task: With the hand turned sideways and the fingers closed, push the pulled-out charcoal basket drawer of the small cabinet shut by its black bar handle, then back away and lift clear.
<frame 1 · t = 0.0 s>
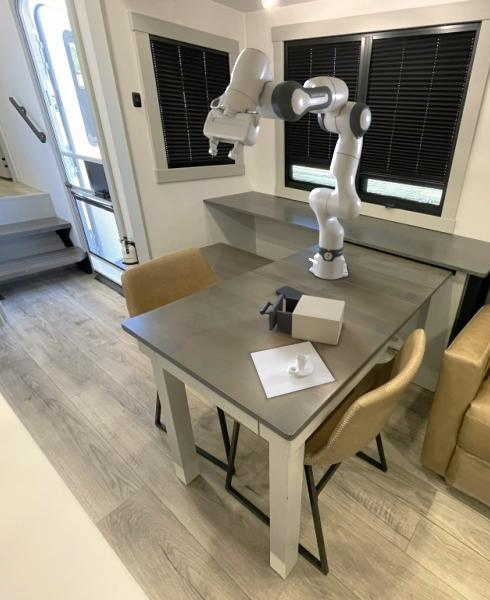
hand: (221, 156, 95), 54 cm above the table, tool tilted 30°, fingers open, 8 cm apart
phone: (293, 295, 138), on the table
cabinet: (318, 330, 117), on the table
teacup and saucer: (291, 366, 99), on the table
drawer: (288, 314, 116), point 5 cm above the table, slide at 7.0 cm
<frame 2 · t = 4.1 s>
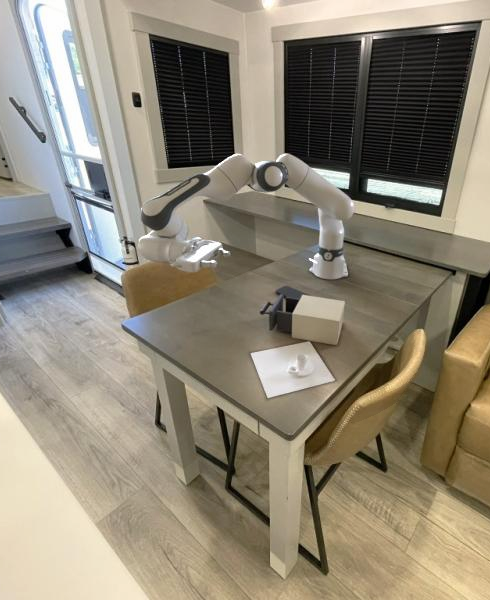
hand: (223, 259, 111), 22 cm above the table, tool horizontal, fingers open, 8 cm apart
nothing on the table moved.
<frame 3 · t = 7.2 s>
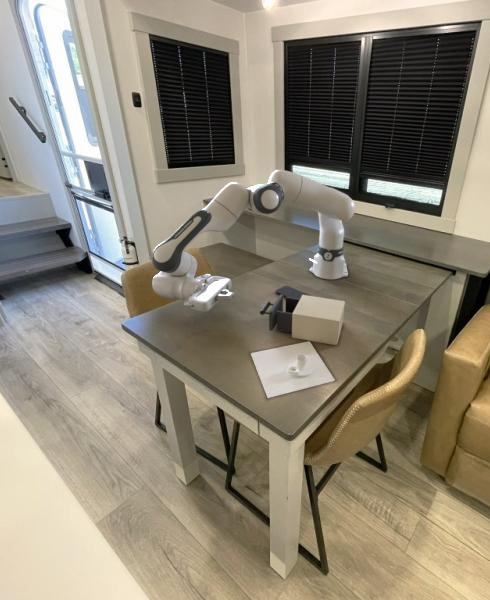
hand: (232, 296, 117), 8 cm above the table, tool horizontal, fingers closed
nothing on the table moved.
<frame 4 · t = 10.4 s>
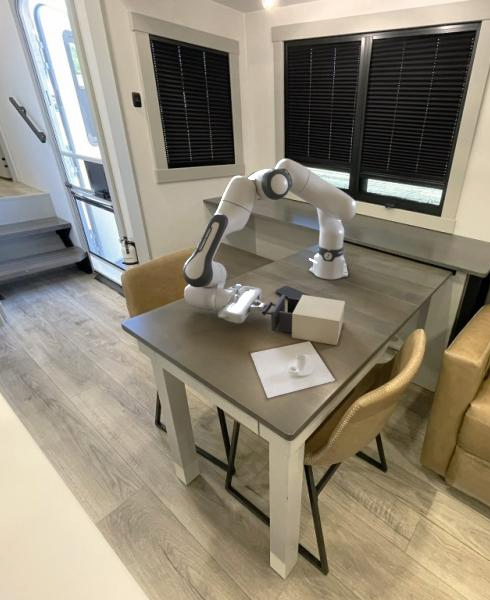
hand: (265, 307, 117), 6 cm above the table, tool horizontal, fingers closed, pressing on drawer
drawer: (290, 314, 116), point 5 cm above the table, slide at 6.2 cm, touching gripper
everything else where it was.
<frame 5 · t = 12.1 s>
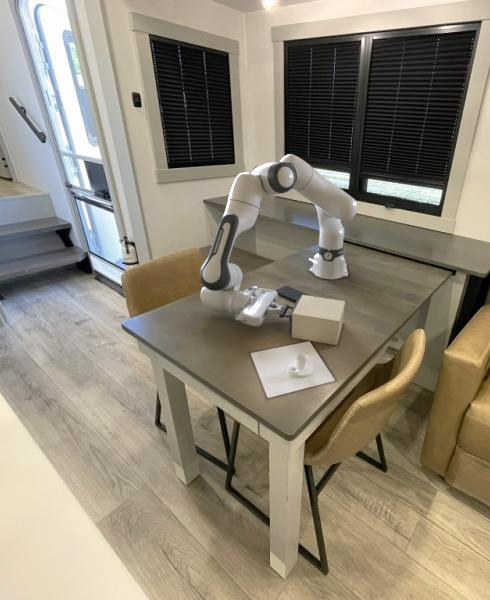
hand: (282, 310, 116), 6 cm above the table, tool horizontal, fingers closed, pressing on drawer
drawer: (308, 317, 115), point 5 cm above the table, slide at 0.0 cm, touching cabinet, gripper
everything else where it was.
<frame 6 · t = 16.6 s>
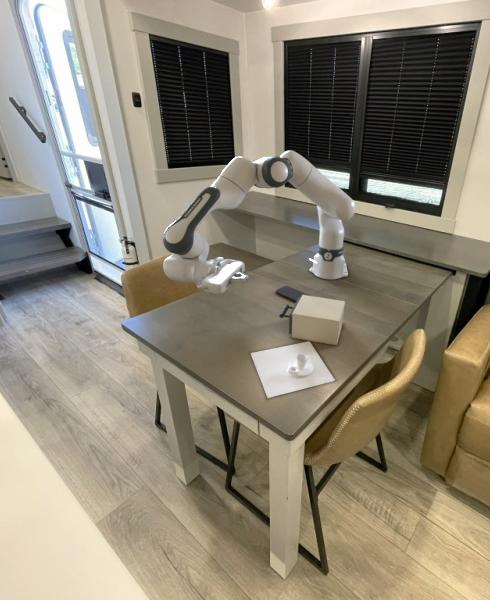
hand: (246, 279, 113), 16 cm above the table, tool horizontal, fingers closed
drawer: (308, 317, 115), point 5 cm above the table, slide at 0.0 cm, touching cabinet
everything else where it was.
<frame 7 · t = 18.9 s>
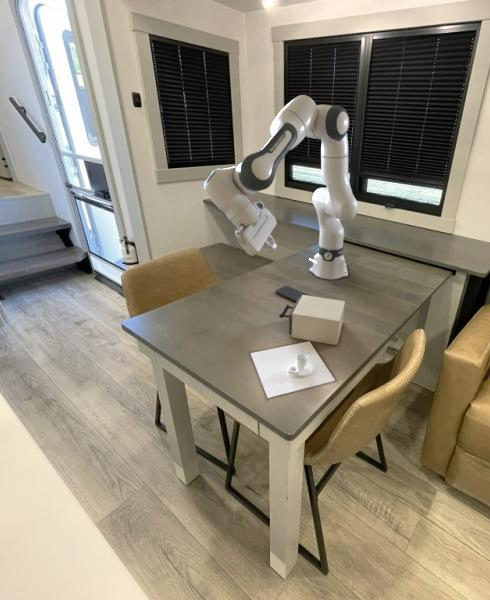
hand: (274, 249, 112), 26 cm above the table, tool tilted 40°, fingers closed
nothing on the table moved.
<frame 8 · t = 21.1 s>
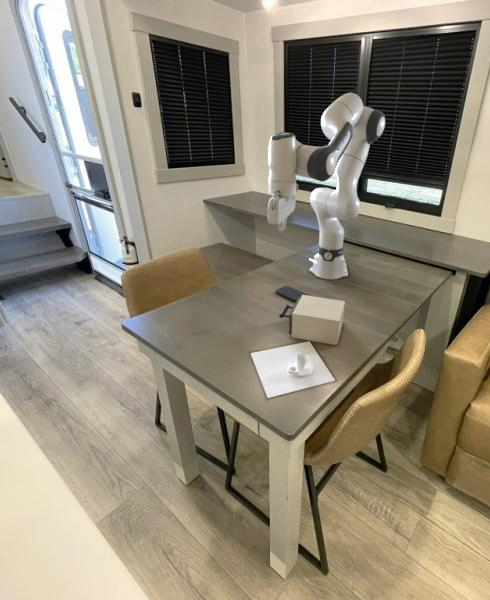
hand: (282, 230, 113), 31 cm above the table, tool pointing down, fingers closed
nothing on the table moved.
at the end: drawer slide at 0.0 cm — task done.
